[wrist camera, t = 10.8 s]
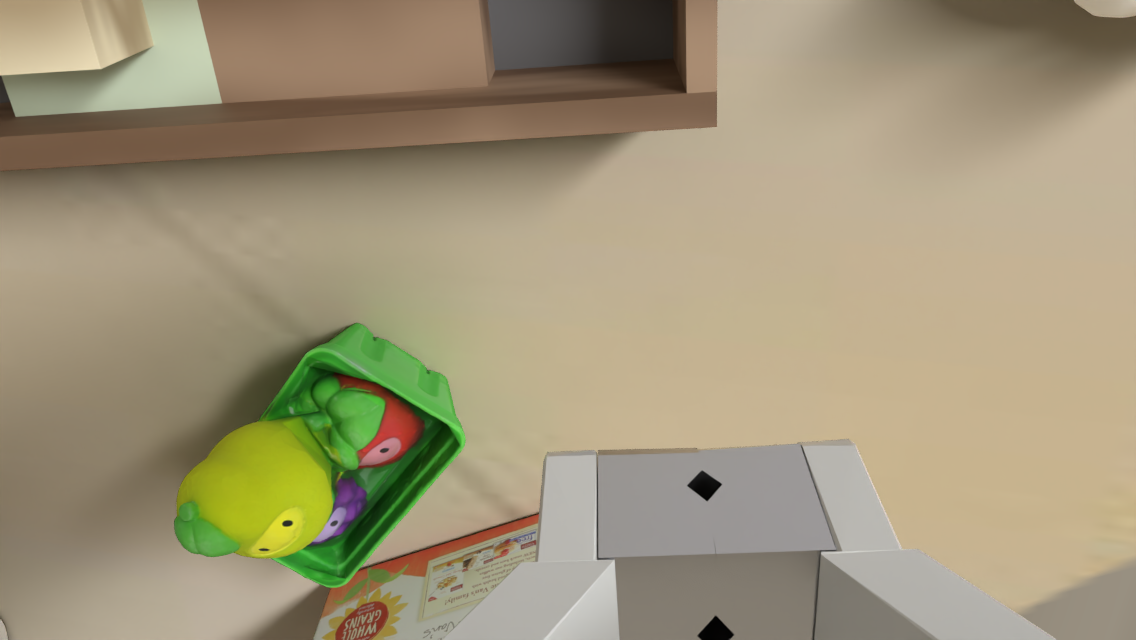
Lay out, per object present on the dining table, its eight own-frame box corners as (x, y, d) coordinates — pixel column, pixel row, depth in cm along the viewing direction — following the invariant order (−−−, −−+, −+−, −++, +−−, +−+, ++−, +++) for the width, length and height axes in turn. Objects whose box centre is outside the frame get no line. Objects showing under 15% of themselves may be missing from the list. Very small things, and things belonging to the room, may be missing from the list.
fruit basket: (362, 525, 47) (300, 708, 37) (208, 438, 45) (96, 608, 35) (487, 374, 43) (454, 535, 33) (322, 270, 40) (232, 408, 30)
